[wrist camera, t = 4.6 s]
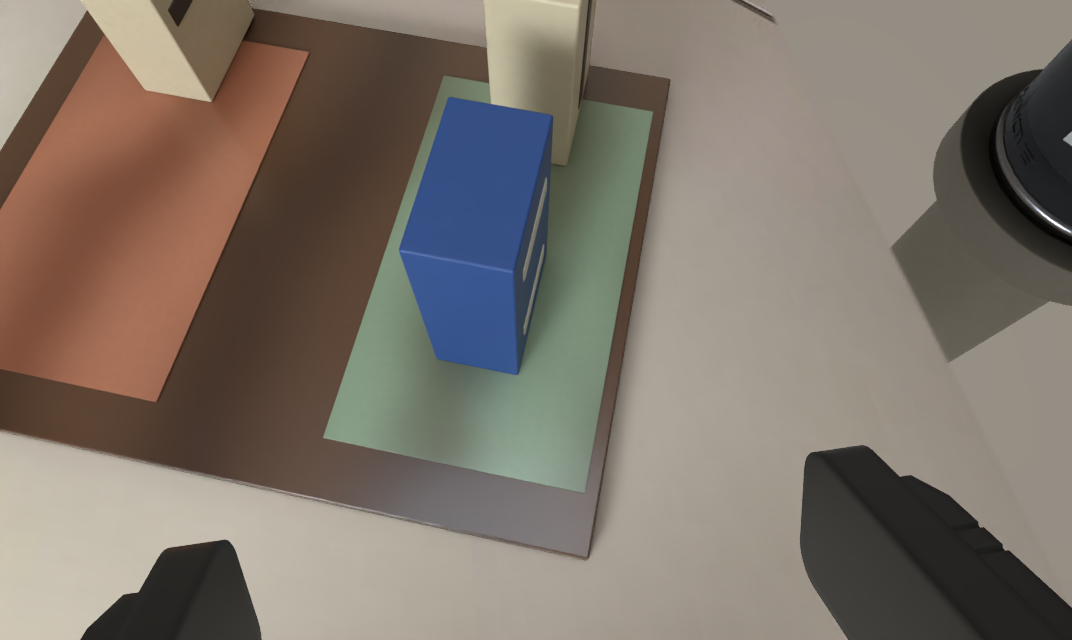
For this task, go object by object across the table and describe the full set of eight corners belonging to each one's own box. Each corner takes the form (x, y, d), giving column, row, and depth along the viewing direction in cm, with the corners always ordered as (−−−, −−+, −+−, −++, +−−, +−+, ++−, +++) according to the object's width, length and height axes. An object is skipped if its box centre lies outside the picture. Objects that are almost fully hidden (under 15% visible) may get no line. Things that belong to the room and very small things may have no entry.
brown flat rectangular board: (668, 88, 31) (671, 76, 30) (587, 561, 23) (588, 559, 22) (110, -7, 33) (102, -20, 32) (-138, 401, 25) (-156, 395, 24)
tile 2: (589, 72, 30) (609, -105, 23) (567, 167, 28) (582, 7, 21) (519, 60, 30) (516, -120, 23) (492, 154, 28) (480, -9, 21)
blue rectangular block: (548, 253, 27) (556, 113, 19) (519, 376, 25) (516, 273, 17) (468, 238, 27) (446, 94, 19) (434, 359, 25) (395, 250, 18)
